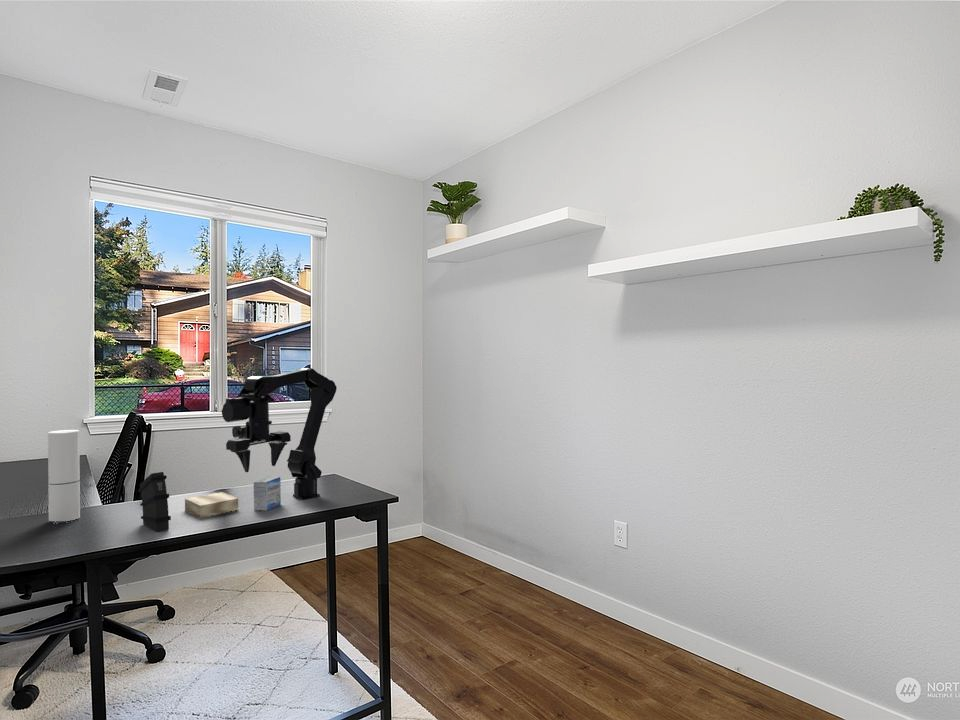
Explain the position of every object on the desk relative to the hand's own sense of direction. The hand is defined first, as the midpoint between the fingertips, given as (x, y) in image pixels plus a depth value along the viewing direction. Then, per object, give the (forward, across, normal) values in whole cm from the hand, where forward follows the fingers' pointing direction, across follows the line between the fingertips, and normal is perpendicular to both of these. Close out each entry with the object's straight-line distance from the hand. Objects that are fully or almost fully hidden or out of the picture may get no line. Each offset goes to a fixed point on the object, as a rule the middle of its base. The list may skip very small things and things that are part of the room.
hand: (260, 469), depth 173 cm
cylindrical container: (+11, +39, -35) cm, 54 cm away
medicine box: (+12, -1, +1) cm, 12 cm away
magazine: (+11, +28, -8) cm, 31 cm away
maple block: (+12, +10, -10) cm, 19 cm away
